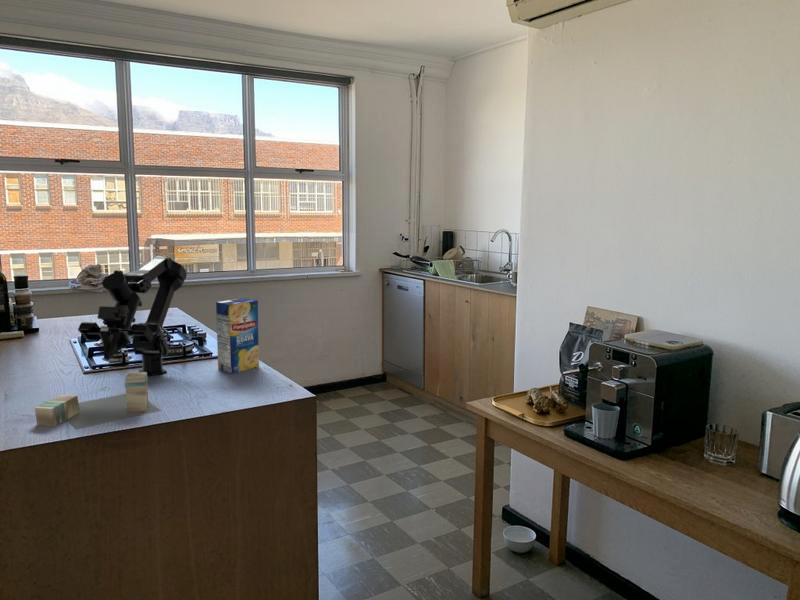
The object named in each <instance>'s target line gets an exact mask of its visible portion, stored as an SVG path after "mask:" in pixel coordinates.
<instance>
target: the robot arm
mask: <svg viewBox="0 0 800 600" xmlns="http://www.w3.org/2000/svg"><path fill="white" fill-rule="evenodd" d="M187 275H188V273H187V269H185V267H184V266H183V265H182V264H180V263H179V262H177V261H174V260H173V259H172V258H171V257H169V256H158V255H157V256H155V257H154V256H153V258H152V260H150V261H149V262H148V263H146V264H145V265H143V266H142V267H140V268H139V269H138V270H133V271H132V270H131V271H128V272H123V271H122V270H114V271H113V273H111V274H109V275H106V276H105V278H103V279H102V282H101V284H102V285H101V286H102V287H103V289H104V290H105V291H106V292H107V293H108V295H109V298H111V299H112V300H113V301H115V304H114V306H102V305H101V306H99V308H98V313H97V319H99V320H102V323H103V325H101V326H99V325H98V324H97V322H96V321H95V322H94V321H93V322H92V321H91V322H89V321H83V322H81V323H80V324H79V326H78V328H77V330H78V332H79V333H80V334H81V335H82V336H83V338H84V339H85V340H87V341H91V342H92V341H93V342H95V341H96V342H97V341H100V340H102V343H103V359H104V360H105V361H110V359H111V358H113V357H114V356H115V355H116V354H117V353H118V352H120V350H122V349H123V348H124V347H127V345H131V343H132V347H133V351H134V355H141V361H142V362H141V364H142V369H139V370H138V373H139V372H147V377H150V376H155V375H161V374H162V375H163V374H167V373H168V371H167V370H166V369H165V368H164V367H163V355H168V352H169V346H170V345H169V344H168V342H167V341H166V339H165V334H164V331H163V325H164V322H165V320H166V317H167V314H168V311H169V309H170V306H171V302H172V301H173V300H172V299H173V297H174V294H175V292H176V291H178V290H179V289H180V288H181V287H183V285H184V283H185V280H186V279H187V277H188V276H187ZM155 279H157V281H158V284H159V286H158V289H157V291H156V294H155V297H154V301H153V302H152V305H151V309H150V311H149V313H148V316H147V319H146V321H145V322H139V323H136V320H137V319H136V318H135V316H136V314H137V313H136V312H137V311H138V308H139V307H142V306H143V302H142V301H141V297H140V296H139V294H146V293H148V292H149V291H150V289H151V288H152V282H153V281H154V280H155ZM131 338H132V339H131ZM131 340H132V341H131Z"/></svg>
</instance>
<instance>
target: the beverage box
mask: <svg viewBox="0 0 800 600" xmlns="http://www.w3.org/2000/svg"><path fill="white" fill-rule="evenodd" d="M215 309H216V335H217V336H216V339H217V341H216V342H217V343H216V344H217V370H218V371H221V372H224V373H227V374H230V375H232V374H236V373H240V371H241V372H245V371H248V370H247V369H249V370H252V369H251V368H253V369H255V368H254V367H256V368H259V367H260V359H259V358H260V355H259V354H260V353H259V352H260V351H259V349H260V347H259V343H260V342H259V301H258V299H257V300H256V299H251V298H247V297H242V298H236V299H228V300H221V301H216V302H215ZM258 366H259V367H258ZM244 370H245V371H244Z"/></svg>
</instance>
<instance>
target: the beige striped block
mask: <svg viewBox="0 0 800 600" xmlns="http://www.w3.org/2000/svg"><path fill="white" fill-rule="evenodd" d="M79 403H80V402H79V397H78V395H76V394H75V395H74V394H73V395H72V394H60V395H58V396H56V397H53V398H52V399H50V400H48V401H45V402H43V403H41V404H37V406H36V407H34V411H35V413H34V414H35V419H36V420H35V421H36V425H37V426H44V427H45V426H48V427H55V426H58V425H60V424H62V423H63V422H66V421H67V419H69V418H70V417H72V416H74V415H76V414H78V413H80V412H79Z"/></svg>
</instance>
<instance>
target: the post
mask: <svg viewBox="0 0 800 600" xmlns="http://www.w3.org/2000/svg"><path fill="white" fill-rule="evenodd" d="M148 378H149V377H148V376H147V372H139V371H138V372H128V373H127V374H126V376H125V379H124V380H125V382H124V387H125V394H126V400H127V412H137V411H146V410H147V407H148V402H149V392H148V391H149V388H148V387H149V386H148V380H149V379H148Z"/></svg>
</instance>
